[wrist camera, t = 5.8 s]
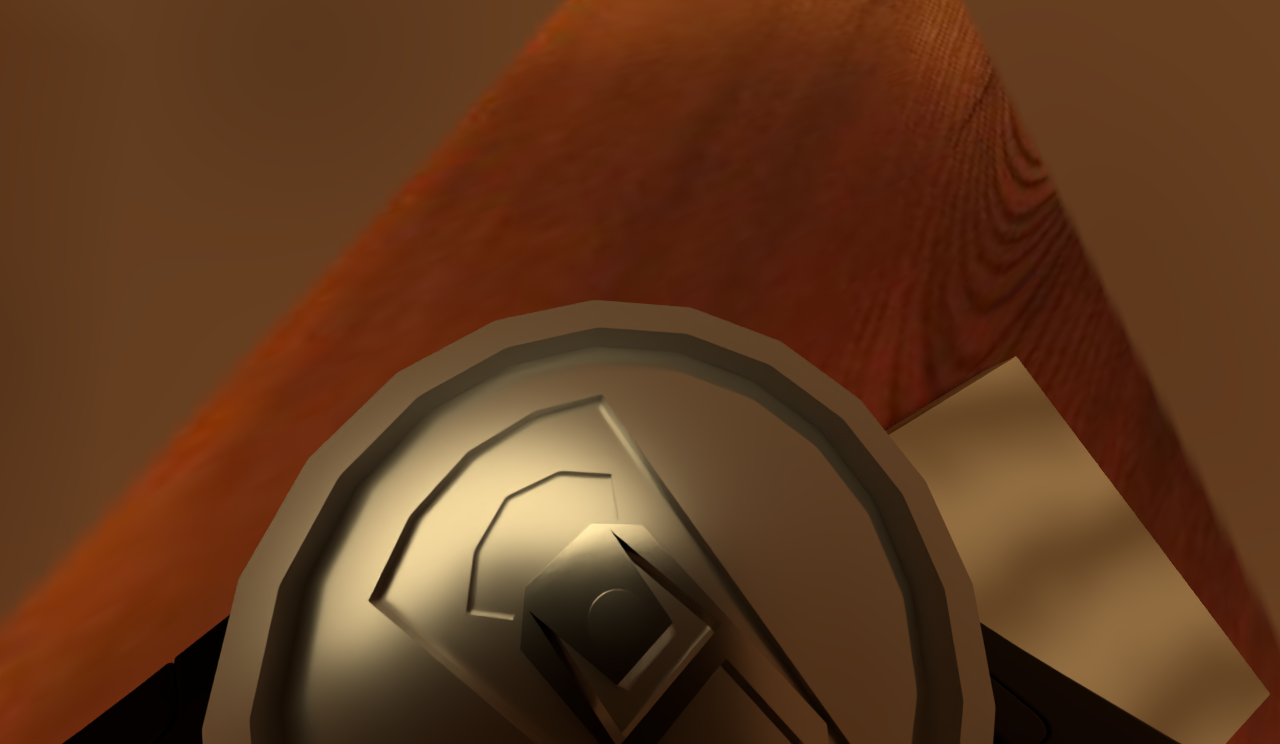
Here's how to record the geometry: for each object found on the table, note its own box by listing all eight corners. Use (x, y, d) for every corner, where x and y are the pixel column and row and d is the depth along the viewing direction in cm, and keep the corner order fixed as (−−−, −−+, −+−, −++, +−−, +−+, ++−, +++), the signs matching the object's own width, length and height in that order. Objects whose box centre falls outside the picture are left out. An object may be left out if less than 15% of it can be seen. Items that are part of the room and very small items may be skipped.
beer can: (709, 584, 15) (1151, 641, 4) (564, 749, 13) (629, 1708, 2) (579, 445, 16) (644, 162, 5) (426, 583, 14) (-60, 654, 3)
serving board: (1212, 683, 23) (1270, 693, 22) (956, 950, 19) (1000, 993, 17) (984, 370, 27) (1016, 356, 25) (720, 531, 22) (735, 529, 20)
